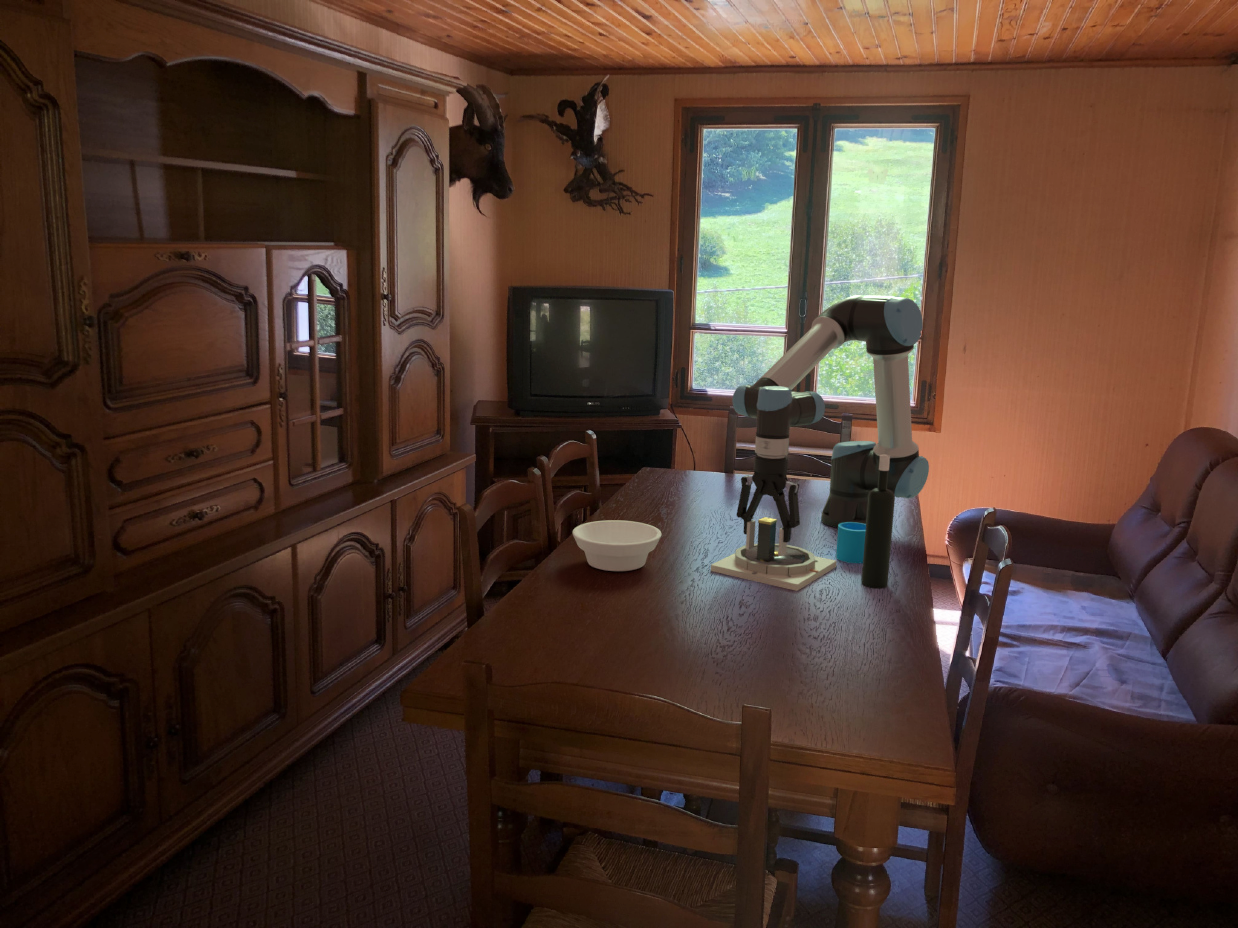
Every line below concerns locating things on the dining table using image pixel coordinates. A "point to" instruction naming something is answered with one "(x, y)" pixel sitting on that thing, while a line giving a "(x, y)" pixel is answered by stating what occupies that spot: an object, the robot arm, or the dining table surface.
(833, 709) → the dining table surface
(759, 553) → the dial
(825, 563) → the dial board
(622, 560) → the bowl
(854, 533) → the mug
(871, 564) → the wine bottle
